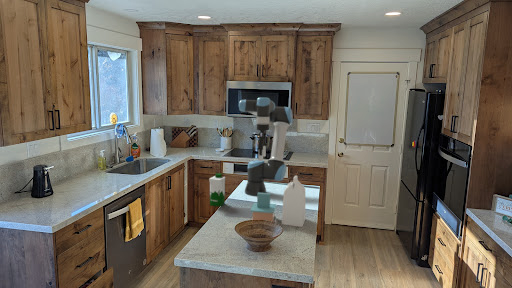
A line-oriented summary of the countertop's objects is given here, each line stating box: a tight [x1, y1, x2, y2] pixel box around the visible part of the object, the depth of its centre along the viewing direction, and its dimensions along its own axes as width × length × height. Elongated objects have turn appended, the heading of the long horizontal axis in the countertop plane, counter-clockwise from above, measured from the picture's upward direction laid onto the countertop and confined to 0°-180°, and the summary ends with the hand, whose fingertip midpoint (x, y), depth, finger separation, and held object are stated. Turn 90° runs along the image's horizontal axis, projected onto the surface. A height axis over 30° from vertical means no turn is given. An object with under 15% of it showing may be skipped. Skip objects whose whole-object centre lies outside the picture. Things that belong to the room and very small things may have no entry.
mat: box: [224, 206, 253, 219], centre depth 209 cm, size 16×16×1 cm
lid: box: [250, 192, 277, 214], centre depth 198 cm, size 13×13×9 cm
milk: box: [281, 175, 306, 228], centre depth 196 cm, size 12×12×26 cm
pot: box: [252, 212, 275, 223], centre depth 199 cm, size 11×11×7 cm
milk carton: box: [208, 172, 226, 208], centre depth 221 cm, size 9×9×20 cm
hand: (262, 158), depth 214 cm, fingers open, 13 cm apart
